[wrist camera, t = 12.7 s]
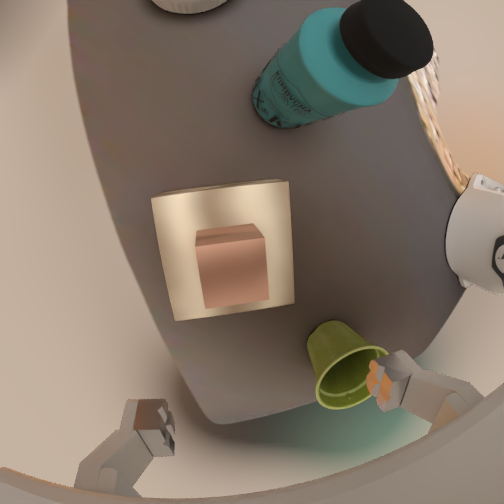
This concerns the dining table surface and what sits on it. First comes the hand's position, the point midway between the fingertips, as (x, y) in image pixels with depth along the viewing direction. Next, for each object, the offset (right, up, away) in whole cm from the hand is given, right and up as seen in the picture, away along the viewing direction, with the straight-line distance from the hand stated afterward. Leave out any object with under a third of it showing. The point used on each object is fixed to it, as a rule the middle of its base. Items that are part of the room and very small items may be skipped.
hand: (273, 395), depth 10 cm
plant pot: (+9, -6, +26) cm, 28 cm away
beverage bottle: (+2, +21, +16) cm, 26 cm away
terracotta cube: (-3, +5, +16) cm, 17 cm away
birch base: (-4, +6, +20) cm, 21 cm away
